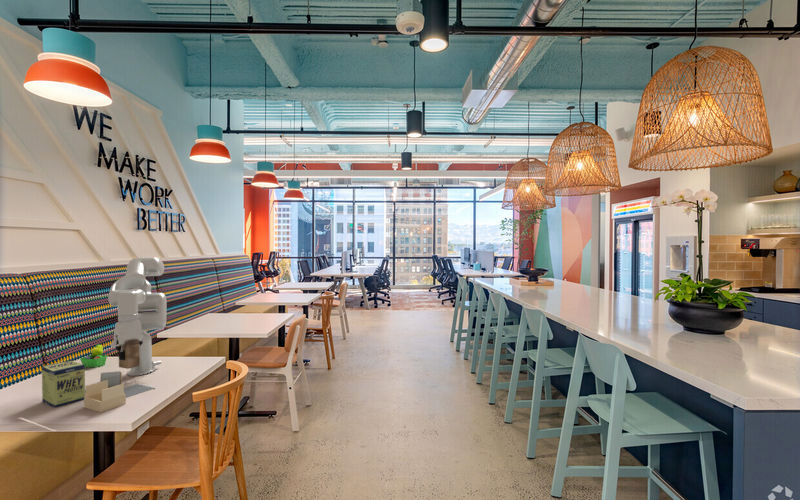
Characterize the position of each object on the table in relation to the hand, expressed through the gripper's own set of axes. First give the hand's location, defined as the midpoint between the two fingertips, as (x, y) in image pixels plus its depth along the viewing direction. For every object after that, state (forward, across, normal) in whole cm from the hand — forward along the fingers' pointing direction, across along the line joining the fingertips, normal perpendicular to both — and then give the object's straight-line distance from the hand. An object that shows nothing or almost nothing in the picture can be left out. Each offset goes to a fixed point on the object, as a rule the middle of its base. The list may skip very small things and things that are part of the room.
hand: (129, 357), depth 177 cm
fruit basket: (+16, -17, -65) cm, 69 cm away
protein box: (+16, +18, -16) cm, 29 cm away
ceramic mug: (+16, 0, -17) cm, 23 cm away
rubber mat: (+16, 0, 0) cm, 16 cm away
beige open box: (+16, +14, +8) cm, 22 cm away
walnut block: (+4, 0, 0) cm, 4 cm away
